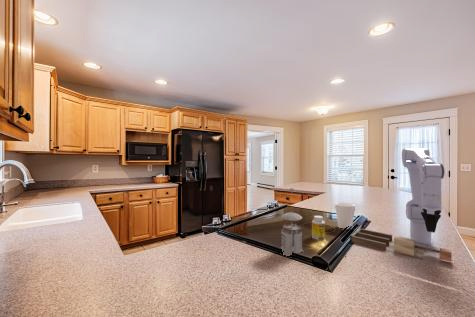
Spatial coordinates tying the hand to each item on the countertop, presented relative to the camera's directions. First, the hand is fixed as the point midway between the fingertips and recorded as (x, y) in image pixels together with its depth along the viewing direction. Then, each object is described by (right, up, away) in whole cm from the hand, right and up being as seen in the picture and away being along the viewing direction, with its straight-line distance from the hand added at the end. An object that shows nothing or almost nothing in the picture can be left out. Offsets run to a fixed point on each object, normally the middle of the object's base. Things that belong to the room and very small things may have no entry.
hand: (431, 229), depth 83 cm
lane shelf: (-13, -9, +7) cm, 17 cm away
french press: (-55, -9, 0) cm, 55 cm away
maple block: (-7, -9, -3) cm, 12 cm away
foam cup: (-19, -10, +29) cm, 36 cm away
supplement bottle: (-39, -9, +15) cm, 42 cm away
